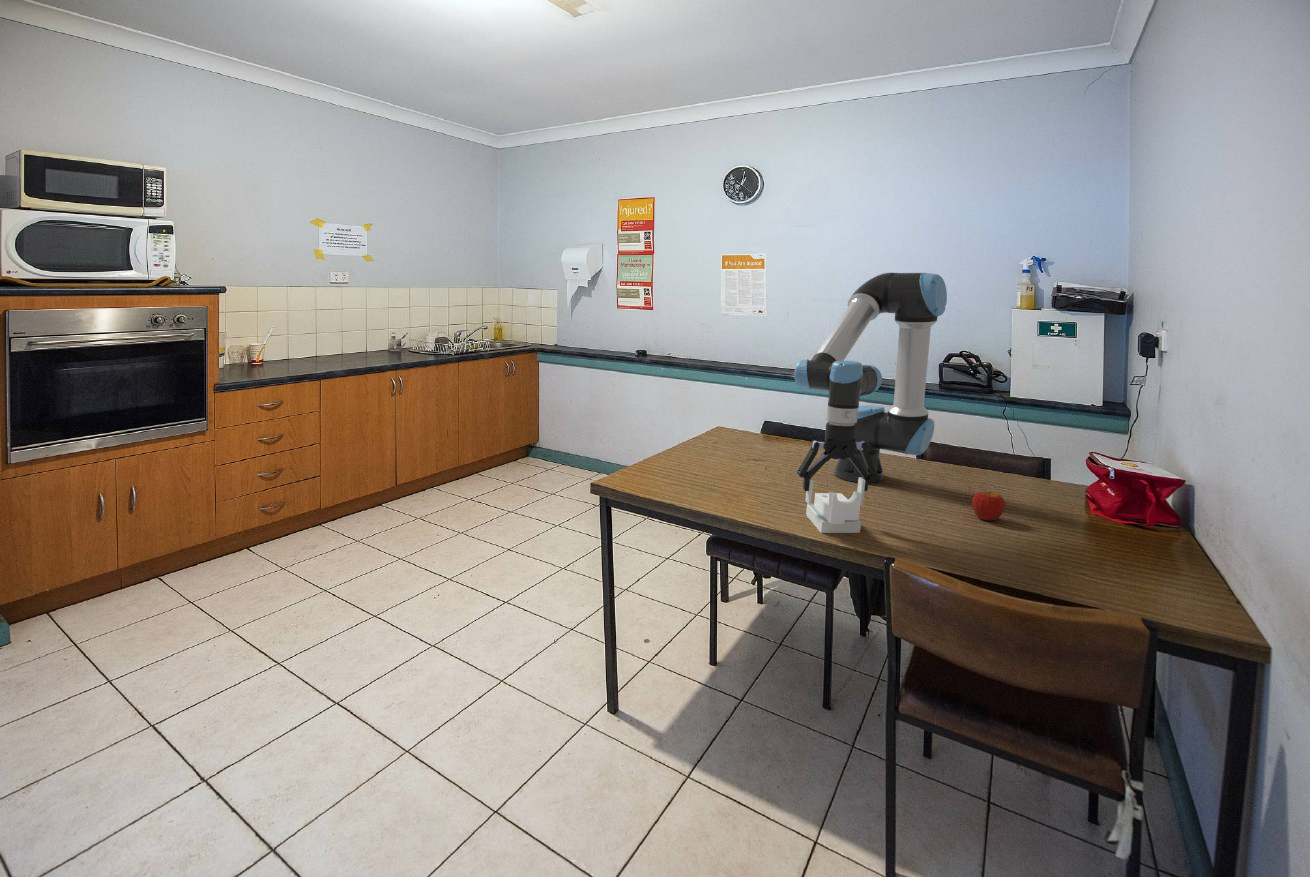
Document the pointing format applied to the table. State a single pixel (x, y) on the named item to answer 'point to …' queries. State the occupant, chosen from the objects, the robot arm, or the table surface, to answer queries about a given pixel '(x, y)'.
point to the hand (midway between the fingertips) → (833, 502)
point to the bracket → (838, 506)
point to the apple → (988, 505)
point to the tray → (826, 527)
